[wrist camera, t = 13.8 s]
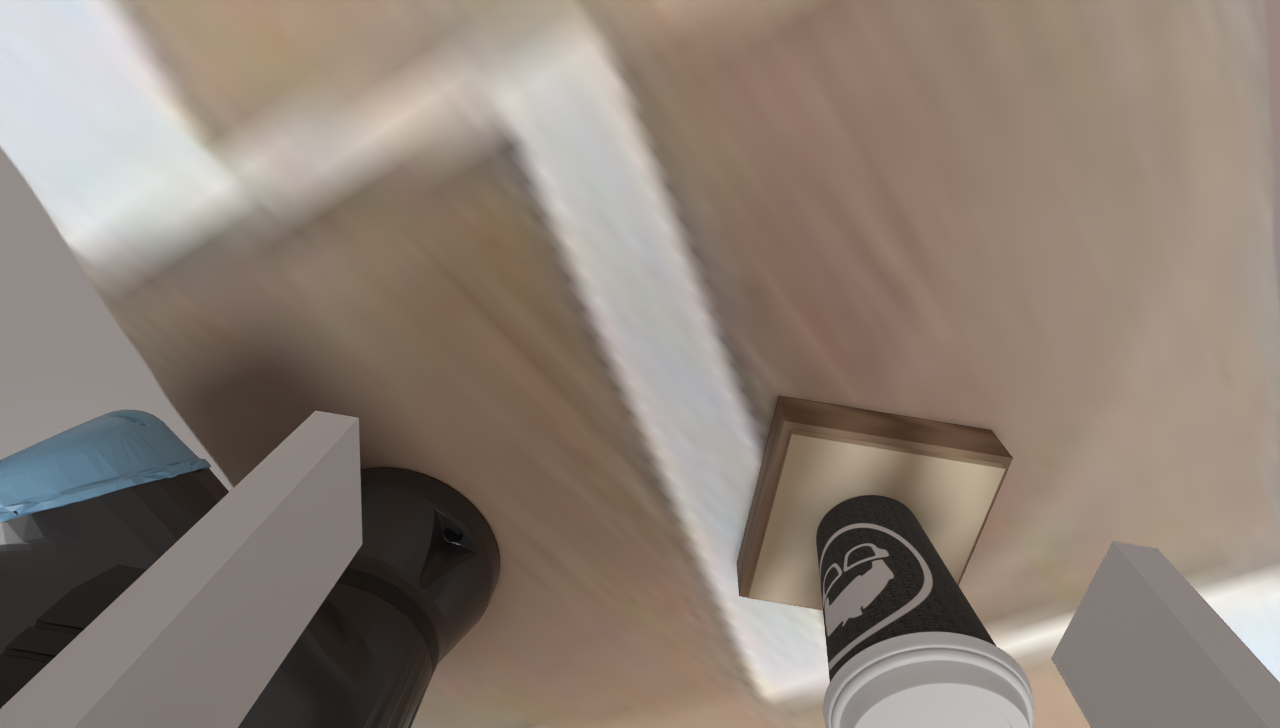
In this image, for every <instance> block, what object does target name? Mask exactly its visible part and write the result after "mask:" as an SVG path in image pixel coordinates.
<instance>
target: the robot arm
mask: <svg viewBox="0 0 1280 728" xmlns="http://www.w3.org/2000/svg"><path fill="white" fill-rule="evenodd" d="M209 467H211V466H210V464H209V463H208V462H207V461H206V460H205V459H199V458H198V457H197V456H196V455H195V454H194V453H193V452H192V451H191V450H190V449H189V448H188V447H187V446H186V445H185V444H184V443H183V442H182V441H181V440H180V439H179V438H178V437H177V436H176V435H175V434H174V433H173V432H172V431H171V430H170V429H169V428H168V427H167V425H165V423H164V422H163V421H161V420H160V419H158V418H157V417H155V416H154V415H152V414H149V413H147V412H143V411H138V410H120V411H114V412H110V413H108V414H105V415H103V416H100V417H97V418H95V419H92V420H90V421H87V422H85V423H83V424H81V425H78V426H76V427H73V428H71V429H69V430H67V431H64V432H62V433H60V434H57V435H55V436H53V437H51V438H49V439H46V440H44V441H42V442H39V443H37V444H35V445H33V446H31V447H29V448H26V449H24V450H22V451H19V452H18V453H15V454H13V455H11V456H8V457H6V458H4V459H2V460H0V728H411V726H412V724H413V722H414V719H415V717H416V714H417V712H418V709H419V707H420V704H421V702H422V700H423V697H424V695H425V692H426V690H427V687H428V685H429V682H430V680H431V677H432V675H433V673H434V670H435V668H436V666H437V664H438V663H439V662H440V661H441V660H442V659H443V658H444V657H445V656H446V655H447V654H448V652H449V651H450V650H451V649H452V648H453V647H454V646H455V645H456V644H457V643H458V642H459V641H460V640H461V639H462V638H463V637H464V636H465V635H466V634H467V633H468V632H469V630H470V629H471V628H472V627H473V626H474V625H475V624H476V623H477V622H478V621H479V619H480V618H481V616H482V615H483V613H484V612H485V610H486V608H487V606H488V604H489V602H490V599H491V596H492V594H493V591H494V589H495V586H496V583H497V580H498V575H499V565H500V562H499V553H498V548H497V544H496V541H495V538H494V536H493V534H492V532H491V530H490V528H489V526H488V525H487V523H486V521H485V520H484V519H483V517H482V516H481V515H480V513H479V512H478V511H477V510H476V509H475V508H474V507H473V506H472V505H471V504H470V503H469V502H468V501H467V500H466V499H465V498H464V497H462V496H461V495H460V494H458V493H457V492H456V491H454V490H453V489H451V488H449V487H448V486H446V485H444V484H442V483H441V482H439V481H436V480H434V479H432V478H430V477H427V476H425V475H421V474H418V473H415V472H411V471H406V470H401V469H393V468H371V469H364V470H360V441H359V418H358V417H352V416H346V415H339V414H333V413H327V412H321V411H315V412H313V413H312V414H311V415H310V416H309V417H308V418H307V419H306V420H305V421H304V422H303V423H302V424H301V425H300V426H299V427H298V428H297V429H295V430H294V431H293V432H292V433H291V434H290V435H289V436H288V437H287V438H286V439H285V440H284V441H283V442H282V443H281V444H280V445H279V446H278V447H276V448H275V449H274V450H273V451H272V452H271V453H270V454H269V455H268V456H267V457H266V458H265V459H264V460H263V461H262V462H261V463H260V464H259V465H257V466H256V467H255V468H254V469H253V470H252V471H251V472H250V473H249V474H248V475H247V476H246V477H245V478H244V479H243V480H242V481H241V482H240V483H238V484H237V485H236V486H235V487H234V488H233V489H232V490H231V491H230V492H229V491H228V490H227V489H226V488H225V487H224V486H223V484H222V483H221V482H220V481H219V480H218V479H217V477H216V476H215V475H214V474H213V473H212V471H211V470H210V469H209ZM1052 660H1053V662H1054V664H1055V665H1056V667H1057V669H1058V671H1059V672H1060V674H1061V676H1062V678H1063V679H1064V681H1065V683H1066V685H1067V686H1068V688H1069V690H1070V692H1071V693H1072V695H1073V697H1074V698H1075V700H1076V702H1077V704H1078V705H1079V707H1080V709H1081V711H1082V712H1083V714H1084V716H1085V718H1086V719H1087V721H1088V723H1089V725H1090V726H1091V728H1280V682H1279V681H1278V680H1277V679H1276V678H1275V677H1274V676H1273V675H1272V674H1271V672H1270V671H1269V670H1268V669H1267V668H1266V667H1265V666H1264V665H1263V664H1262V663H1261V662H1260V660H1259V659H1258V658H1257V657H1256V656H1255V655H1254V654H1253V653H1252V652H1251V651H1250V649H1249V648H1248V647H1247V646H1246V645H1245V644H1244V643H1243V642H1242V641H1241V640H1240V638H1239V637H1238V636H1237V635H1236V634H1235V633H1234V632H1233V631H1232V630H1231V629H1230V627H1229V626H1228V625H1227V624H1226V623H1225V622H1224V621H1223V620H1222V619H1221V618H1220V616H1219V615H1218V614H1217V613H1216V612H1215V611H1214V610H1213V609H1212V608H1211V607H1210V605H1209V604H1208V603H1207V602H1206V601H1205V600H1204V599H1203V598H1202V597H1201V596H1200V594H1199V593H1198V592H1197V591H1196V590H1195V589H1194V588H1193V587H1192V586H1191V585H1190V583H1189V582H1188V581H1187V580H1186V579H1185V578H1184V577H1183V576H1182V575H1181V574H1180V572H1179V571H1178V570H1177V569H1176V568H1175V567H1174V566H1173V565H1172V564H1171V563H1170V561H1169V560H1168V559H1167V558H1166V557H1165V556H1164V555H1163V554H1162V553H1161V552H1160V550H1159V549H1158V548H1152V547H1146V546H1140V545H1134V544H1128V543H1121V542H1115V541H1113V542H1112V544H1111V546H1110V548H1109V550H1108V552H1107V553H1106V555H1105V557H1104V559H1103V561H1102V563H1101V565H1100V567H1099V569H1098V571H1097V572H1096V574H1095V576H1094V578H1093V580H1092V582H1091V584H1090V586H1089V588H1088V590H1087V591H1086V593H1085V595H1084V597H1083V599H1082V601H1081V603H1080V605H1079V607H1078V609H1077V611H1076V612H1075V614H1074V616H1073V618H1072V620H1071V622H1070V624H1069V626H1068V628H1067V630H1066V631H1065V633H1064V635H1063V637H1062V639H1061V641H1060V643H1059V645H1058V647H1057V649H1056V650H1055V652H1054V654H1053V656H1052Z"/></svg>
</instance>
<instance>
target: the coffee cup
mask: <svg viewBox="0 0 1280 728" xmlns="http://www.w3.org/2000/svg"><path fill="white" fill-rule="evenodd" d="M816 545H817V555H818V565H819V575H820V585H821V595H822V605H823V615H824V625H825V635H826V645H827V656H828V667H829V678H830V684H829V686H828V688H827V691H826V694H825V697H824V703H823V715H824V720H825V724H826V727H827V728H1033V723H1034V701H1033V696H1032V690H1031V686H1030V683H1029V680H1028V678H1027V676H1026V674H1025V672H1024V671H1023V669H1022V668H1021V667H1020V665H1019V664H1018V663H1017V662H1016V661H1015V660H1014V659H1013V658H1012V657H1011V656H1010V655H1009V654H1007V653H1006V652H1004V651H1003V650H1001V649H1000V648H998V647H996V645H995V643H994V642H993V640H992V639H991V637H990V636H989V634H988V632H987V631H986V629H985V628H984V626H983V624H982V623H981V621H980V620H979V618H978V617H977V615H976V613H975V612H974V610H973V609H972V607H971V605H970V604H969V602H968V601H967V599H966V597H965V596H964V594H963V593H962V591H961V589H960V588H959V586H958V585H957V583H956V581H955V580H954V578H953V576H952V575H951V573H950V572H949V570H948V568H947V567H946V565H945V564H944V562H943V560H942V559H941V557H940V556H939V554H938V552H937V551H936V549H935V547H934V546H933V544H932V543H931V541H930V539H929V538H928V536H927V535H926V533H925V531H924V530H923V528H922V526H921V525H920V523H919V522H918V520H917V518H916V517H915V515H914V514H913V513H912V511H911V510H910V509H909V508H908V507H906V506H905V505H904V504H902V503H901V502H899V501H897V500H895V499H892V498H889V497H885V496H879V495H864V496H858V497H854V498H851V499H848V500H845V501H843V502H841V503H839V504H838V505H836V506H835V507H833V508H832V509H831V510H830V511H829V512H828V513H827V514H826V515H825V516H824V518H823V519H822V521H821V522H820V524H819V527H818V530H817V534H816Z"/></svg>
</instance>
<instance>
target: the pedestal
mask: <svg viewBox="0 0 1280 728" xmlns="http://www.w3.org/2000/svg"><path fill="white" fill-rule="evenodd" d="M1012 459H1013V458H1012V456H1011V455H1010V454H1009V452H1008V451H1007V450H1006V448H1005V447H1004V446H1003V444H1002V443H1001V442H1000V441H999V439H998V438H997V437H996V435H995V434H994V433H993V431H992V430H986V429H980V428H974V427H968V426H961V425H955V424H949V423H943V422H937V421H931V420H924V419H918V418H912V417H906V416H900V415H894V414H887V413H881V412H875V411H869V410H863V409H856V408H850V407H844V406H838V405H832V404H826V403H819V402H813V401H807V400H801V399H795V398H789V397H782V396H779V398H778V402H777V406H776V410H775V414H774V418H773V422H772V426H771V430H770V434H769V438H768V442H767V446H766V450H765V454H764V458H763V461H762V465H761V469H760V473H759V477H758V481H757V485H756V489H755V493H754V497H753V501H752V505H751V509H750V513H749V517H748V521H747V525H746V529H745V533H744V537H743V541H742V545H741V549H740V553H739V557H738V561H737V573H738V587H739V596H742V597H748V598H752V599H758V600H764V601H770V602H776V603H782V604H788V605H794V606H800V607H806V608H812V609H818V610H823V605H822V595H821V585H820V575H819V565H818V555H817V545H816V534H817V530H818V527H819V524H820V522H821V521H822V519H823V518H824V516H825V515H826V514H827V513H828V512H829V511H830V510H831V509H832V508H833V507H835V506H836V505H838V504H839V503H841V502H843V501H845V500H848V499H851V498H854V497H858V496H864V495H879V496H885V497H889V498H892V499H895V500H897V501H899V502H901V503H902V504H904V505H905V506H906V507H908V508H909V509H910V510H911V511H912V513H913V514H914V515H915V517H916V518H917V520H918V522H919V523H920V525H921V526H922V528H923V530H924V531H925V533H926V535H927V536H928V538H929V539H930V541H931V543H932V544H933V546H934V547H935V549H936V551H937V552H938V554H939V556H940V557H941V559H942V560H943V562H944V564H945V565H946V567H947V568H948V570H949V572H950V573H951V575H952V576H953V578H954V580H955V581H956V583H957V585H958V586H959V583H960V581H961V579H962V576H963V574H964V572H965V569H966V567H967V565H968V562H969V560H970V558H971V555H972V553H973V550H974V548H975V546H976V543H977V541H978V539H979V536H980V534H981V532H982V529H983V527H984V525H985V522H986V520H987V518H988V515H989V513H990V511H991V508H992V506H993V503H994V501H995V499H996V496H997V494H998V492H999V489H1000V487H1001V485H1002V482H1003V480H1004V478H1005V475H1006V473H1007V471H1008V468H1009V466H1010V463H1011V461H1012Z"/></svg>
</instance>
